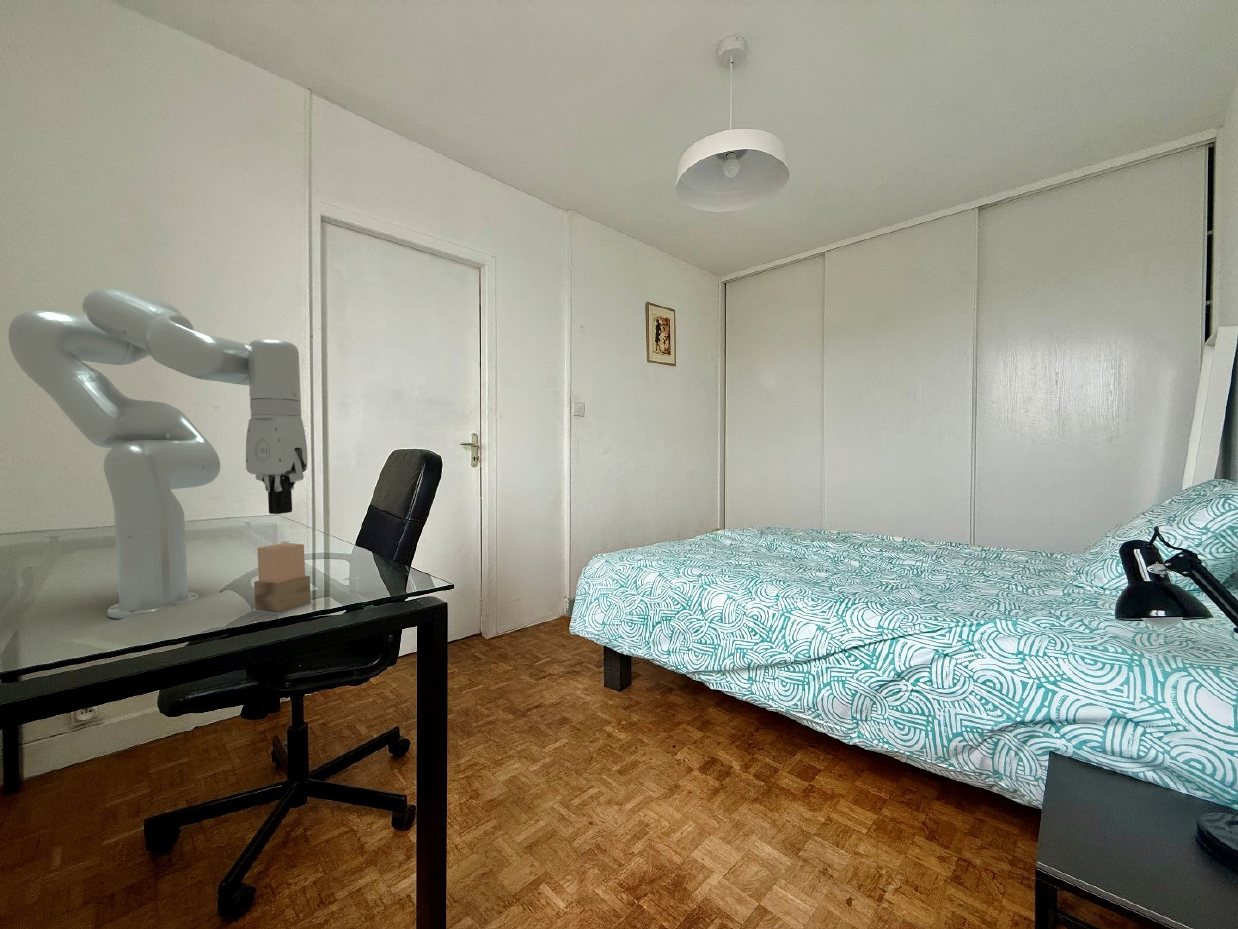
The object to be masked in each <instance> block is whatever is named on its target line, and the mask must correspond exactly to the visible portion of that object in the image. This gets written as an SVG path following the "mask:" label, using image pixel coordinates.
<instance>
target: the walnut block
mask: <svg viewBox="0 0 1238 929" xmlns="http://www.w3.org/2000/svg"><path fill="white" fill-rule="evenodd" d="M253 582H254V583H253V584H254V585H253V586H254V602H255V603H254V606H255V607H254V609H256V610H262V611H269V612H275V613H281V612H284V611H287V610H290V609H293V608H296V607H299V606H302V605H305V604H308V603H311V602H312V601H311V600H312V599H311V575H305V577H302V578H298V579H294V580H291V581H287V582H283V583H279V584H276V583H268V582H261V581H259V580H256V581H253Z"/></svg>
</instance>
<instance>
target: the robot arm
mask: <svg viewBox="0 0 1238 929" xmlns="http://www.w3.org/2000/svg"><path fill="white" fill-rule="evenodd" d="M81 308H82V311H83V314H84V315H80V314H74V313H70V312H65V311H59V310H48V309H36V310H28V311H23V312H21V313H19V314H17V315H16V316H15V317H14V318H13V319H12V321H11V322H10V324H9V327H8V334H7V336H8V345H9V348H10V352H11V353H12V356H13V358H14V359H15V362H16V363H17V365H18V366H19V368H20V369H21V370H22V371H23V372H24V373H25V374H26V375H27V377H28V378H30V379H31V380H32V381H33V382H34V383H35V384H37V386H38V387H40V388H41V389H42V390H43V391H44V392H45V393H47V395H49V396H50V397H51V399H53V401H54V402H56V404H57V406H58V407H59V408H60V410H62V411H63V413H64V414H65V415H66V416H67V417H68V419H69V420H70V421H71V423H73V424H74V425H75V426H76V428H77V429H78V430H79V431H80V432H81V434H82V435H83V436H84V437H85V438H86V439H87V440H88V441H89V442H90V443H92V444H93V445H95V446H97V447H99V448H106V449H110V450H109V451H108V452H107V453H106V455H105V457H104V460H103V472H104V476H105V479H106V482H107V484H108V485H107V486H108V488H109V490H110V495H111V500H112V505H113V512H114V513H113V515H114V529H115V530H114V531H115V546H116V547H115V549H116V564H117V565H116V566H117V567H116V568H117V583H118V588H117V589H116V591H115V592H116V594H117V595H118V603H116V604H113V605H112V606H110V607H109V608H108V609H107V616H108V617H110V618H112V619H123V620H124V619H127V618H130V617H134V616H138V615H142V614H146V613H149V612H153V611H157V610H158V611H159V610H161V609H165V608H168V607H172V606H176V605H180V604H183V603H188V602H191V601H195V600H199V599H200V598H199V593H196V592H191V591H189V586H188V584H189V583H188V567H187V566H188V565H187V563H188V562H187V560H188V559H187V544H186V540H187V539H186V522H185V521H186V520H185V512H184V509H183V506H182V504H181V502H180V501H179V499H178V498H177V497H176V496H175V495H174V493H173V492H172V490H179V489H188V488H197V487H201V486H202V487H203V486H205V485H208V484H210V483H212V482H213V481H215V479H216V478H217V477H218V476H219V474H220V472H221V460H220V457H219V454H218V453H217V451H216V449H215V448H214V447H213V445H212V444H211V443H210V442H209V440H208V439H207V438H206V437H205V436H204V435H203V434H202V432H201V431H200V430H199V429H198V428H197V427H196V426H195V425H194V423H193V422H192V421H191V420H190V419H189V418H188V417H187V415H185V413H183V412H182V411H181V410H180V409H178V408H177V407H175V406H173V405H171V404H168V403H166V402H162V401H161V402H159V401H152V400H151V401H150V400H140V399H135V398H130V397H127V396H126V395H124V394H123V393H122V392H121V391H120V390H119V389H118V388H117V387H116V386H115V384H114V383H113V382H112V380H110V379H109V378H108V377H106V375H104V374H103V373H101V372H100V371H99V370H97V369H95V368H94V367H92V366H90V365H89V364H87V363H85V362H89V363H90V362H91V363H98V364H105V365H111V366H114V365H115V366H124V365H129V364H131V365H132V364H133V363H136V362H140V361H141V360H143V359H145V358H148V357H151V358H152V359H153V361H155V362H157V363H158V364H160V365H162V366H165V367H166V368H169V369H172V370H174V371H176V372H178V373H181V374H184V375H186V376H188V377H191V378H195V379H200V380H203V381H204V380H205V381H213V382H220V383H228V384H233V385H239V386H248V388H249V402H250V403H249V405H250V406H249V408H250V418H249V419H248V424H247V431H246V436H245V437H246V439H245V440H246V442H245V470H246V472H247V473H249V474H250V475H255V479H256V480H257V481H260V482H262V483H263V484H264V489H265V491H266V492H268V493H267V500H268V502H267V503H268V513H269V515H274V514H275V515H281V514H288V513H292V512H293V495H292V494H293V493H292V491H294V489H295V484H296V482H300V481H303V480H304V477H305V476H304V473H305V472H306V471H307V468H308V461H309V460H308V446H307V439H306V438H307V437H306V431H305V426H304V423H303V418H302V402H301V401H302V400H301V398H302V396H301V375H300V355H299V354H300V353H299V348H298V347H297V346H296V345H295V344H293V343H291V342H289V341H285V340H279V339H267V338H266V339H265V338H263V339H261V338H260V339H254V340H252V341H251V342H250V343H243V342H240V341H236V340H232V339H227V338H223V337H218V336H213V335H209V334H205V333H202V332H199V331H197V330H195V329H194V326H193V325H192V323H191V321H190V320H189V319H188V318H187V317H186V316H185V315H183V314H182V312H181V311H179V309H177V308H176V306H174V305H172V304H170V303H168V302H166V301H163V300H160V299H157V298H152V297H149V296H145V295H142V294H138V293H135V292H131V291H128V290H123V289H119V288H118V289H117V288H101V289H96V290H93V291H92V292H90V293H88V294H87V295H86V296H85V297H84V298H83V302H82V306H81Z"/></svg>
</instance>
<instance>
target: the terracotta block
mask: <svg viewBox="0 0 1238 929" xmlns="http://www.w3.org/2000/svg"><path fill="white" fill-rule="evenodd" d="M305 562H306V561H305V544H303V543H293V542H292V543H291V542H282V543H281V542H280V543H277V544H270V545H266V546H260V547H257V567H258V570H257V571H258V581H261V582H268V583H276V584H279V583H283V582H287V581H291V580H294V579H298V578H302V577H305V576H306V565H305V564H306V563H305Z"/></svg>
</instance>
